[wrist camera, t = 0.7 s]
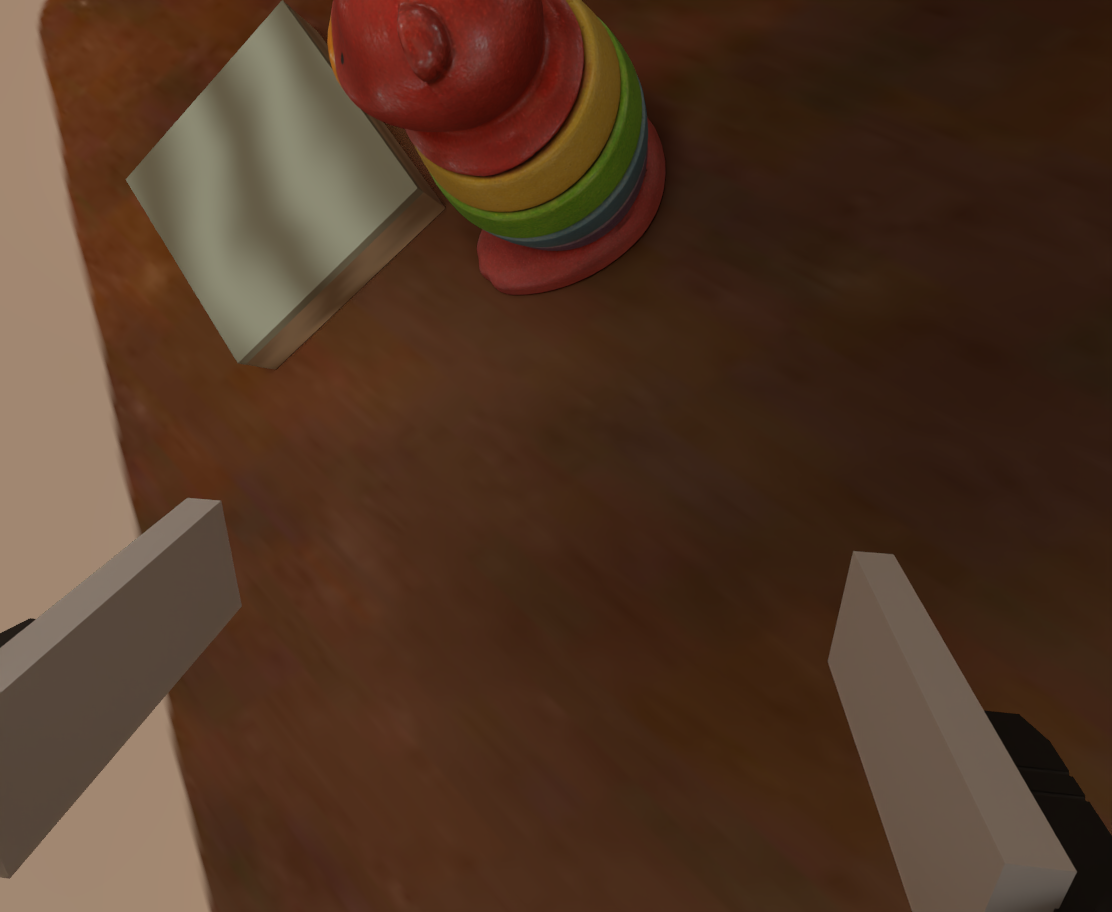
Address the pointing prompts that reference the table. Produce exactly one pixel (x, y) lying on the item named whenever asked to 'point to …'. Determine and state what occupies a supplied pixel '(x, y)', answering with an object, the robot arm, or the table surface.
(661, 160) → the stacking bear
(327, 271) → the plinth
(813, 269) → the table surface
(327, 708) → the table surface
